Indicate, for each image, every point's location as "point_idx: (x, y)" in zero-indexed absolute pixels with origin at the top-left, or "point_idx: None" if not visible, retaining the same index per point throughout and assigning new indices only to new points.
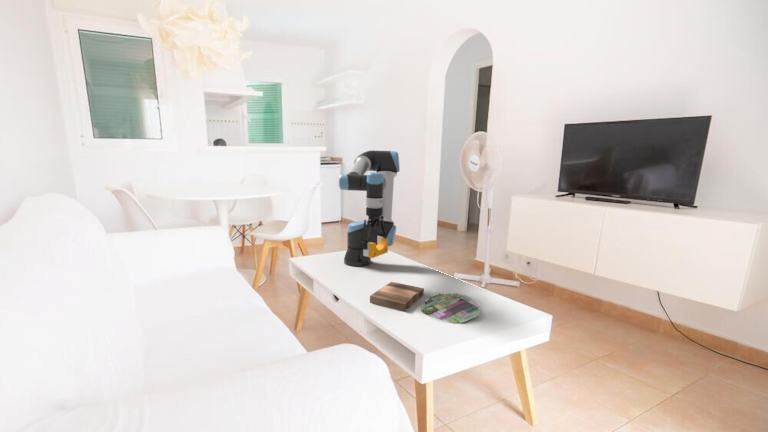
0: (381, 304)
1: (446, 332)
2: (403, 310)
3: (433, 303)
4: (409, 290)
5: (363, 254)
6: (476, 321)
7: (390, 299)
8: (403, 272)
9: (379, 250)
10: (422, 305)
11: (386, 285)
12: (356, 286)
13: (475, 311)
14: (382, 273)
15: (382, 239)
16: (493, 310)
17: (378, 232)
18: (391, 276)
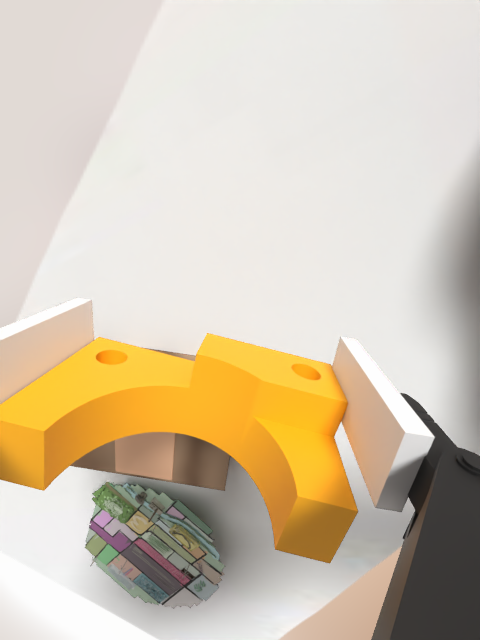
0: None
1: (36, 538)
2: None
3: (151, 512)
4: (181, 454)
5: (68, 304)
6: None
7: None
8: (467, 356)
9: (170, 430)
10: (132, 485)
11: None
12: (190, 218)
13: (146, 595)
14: (424, 265)
15: (290, 504)
16: (205, 608)
17: (418, 528)
18: (388, 321)
